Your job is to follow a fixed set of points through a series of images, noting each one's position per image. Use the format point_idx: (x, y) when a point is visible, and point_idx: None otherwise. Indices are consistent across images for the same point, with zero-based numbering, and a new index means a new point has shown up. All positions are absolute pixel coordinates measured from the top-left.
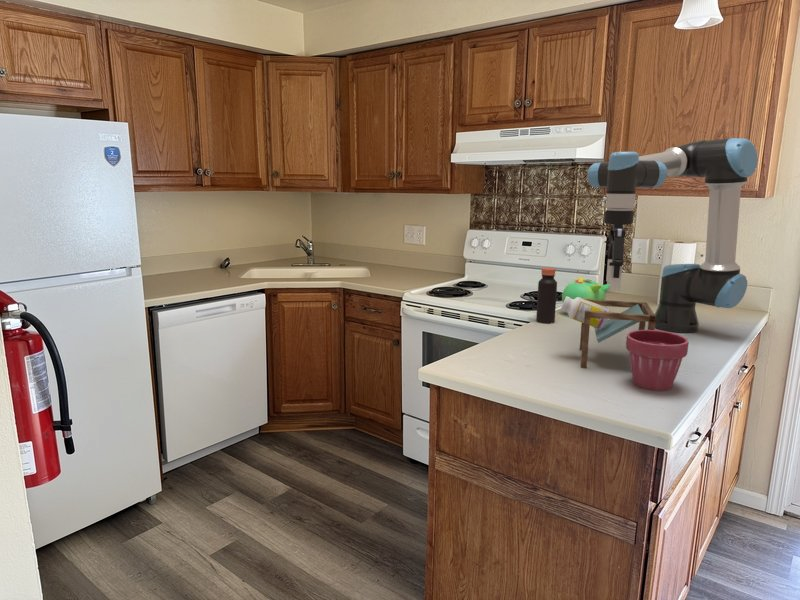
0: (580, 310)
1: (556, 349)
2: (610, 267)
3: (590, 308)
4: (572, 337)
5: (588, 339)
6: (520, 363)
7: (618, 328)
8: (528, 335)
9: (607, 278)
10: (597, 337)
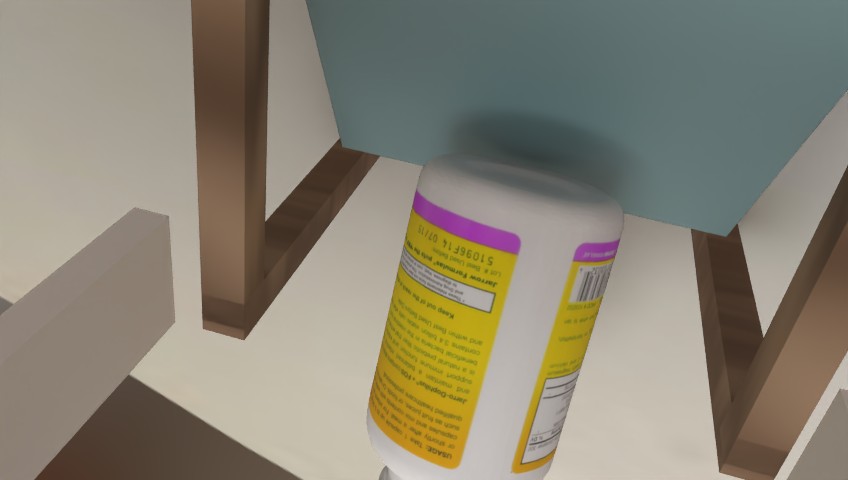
0: (560, 428)
1: (388, 265)
2: (38, 428)
3: (562, 377)
4: (121, 124)
5: (755, 303)
6: (651, 468)
7: (801, 143)
8: (167, 331)
9: (152, 336)
10: (674, 220)
